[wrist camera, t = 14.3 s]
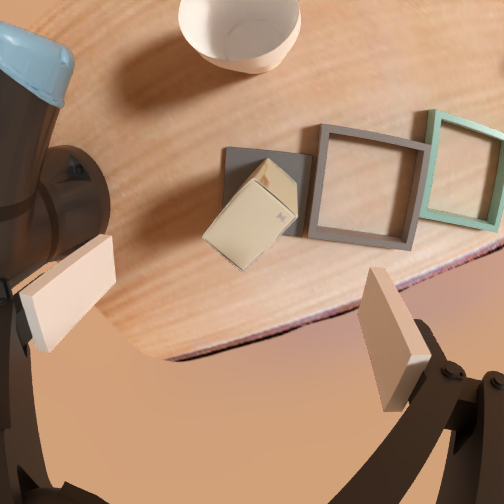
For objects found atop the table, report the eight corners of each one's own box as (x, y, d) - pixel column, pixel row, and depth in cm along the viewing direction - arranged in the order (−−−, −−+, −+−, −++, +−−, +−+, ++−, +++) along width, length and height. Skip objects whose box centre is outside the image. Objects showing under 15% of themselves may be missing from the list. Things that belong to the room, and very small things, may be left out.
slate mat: (222, 226, 37) (221, 227, 36) (227, 146, 33) (226, 147, 33) (301, 235, 36) (302, 237, 35) (312, 155, 33) (312, 155, 32)
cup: (281, 96, 30) (277, 79, 19) (201, 72, 30) (159, 49, 19) (309, 24, 27) (317, -23, 16) (229, 2, 27) (201, -47, 16)
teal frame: (412, 212, 33) (418, 217, 31) (428, 109, 29) (435, 109, 27) (489, 227, 32) (497, 232, 31) (506, 136, 28) (515, 138, 26)
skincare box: (267, 156, 33) (255, 171, 21) (298, 183, 33) (302, 214, 22) (228, 200, 35) (198, 238, 24) (258, 226, 36) (243, 275, 24)
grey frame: (306, 231, 36) (307, 237, 34) (320, 123, 31) (322, 123, 29) (405, 244, 35) (410, 251, 33) (424, 143, 30) (431, 145, 28)
